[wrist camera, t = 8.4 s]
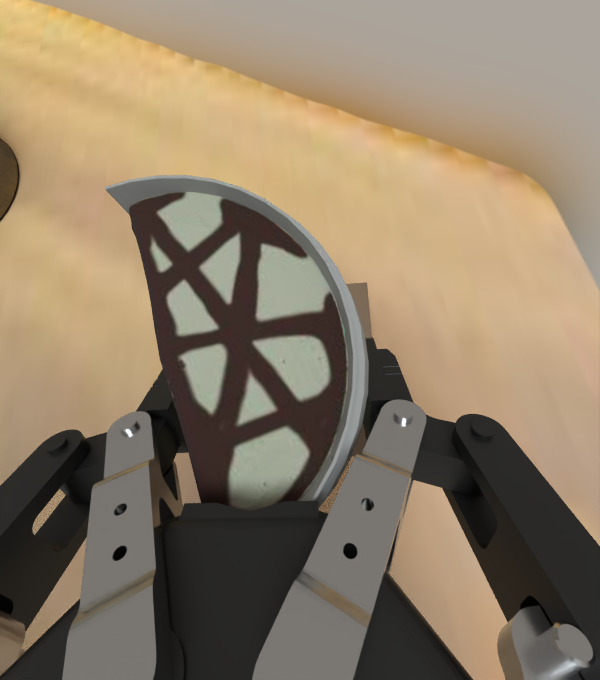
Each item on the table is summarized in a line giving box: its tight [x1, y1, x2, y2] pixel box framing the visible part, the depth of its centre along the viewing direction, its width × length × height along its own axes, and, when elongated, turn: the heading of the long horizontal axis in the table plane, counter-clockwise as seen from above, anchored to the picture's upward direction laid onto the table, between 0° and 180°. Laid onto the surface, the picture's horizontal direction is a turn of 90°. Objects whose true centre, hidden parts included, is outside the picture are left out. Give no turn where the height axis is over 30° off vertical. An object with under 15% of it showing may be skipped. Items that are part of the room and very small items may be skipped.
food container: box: [105, 175, 369, 511], centre depth 13 cm, size 12×6×10 cm, turn 19°
